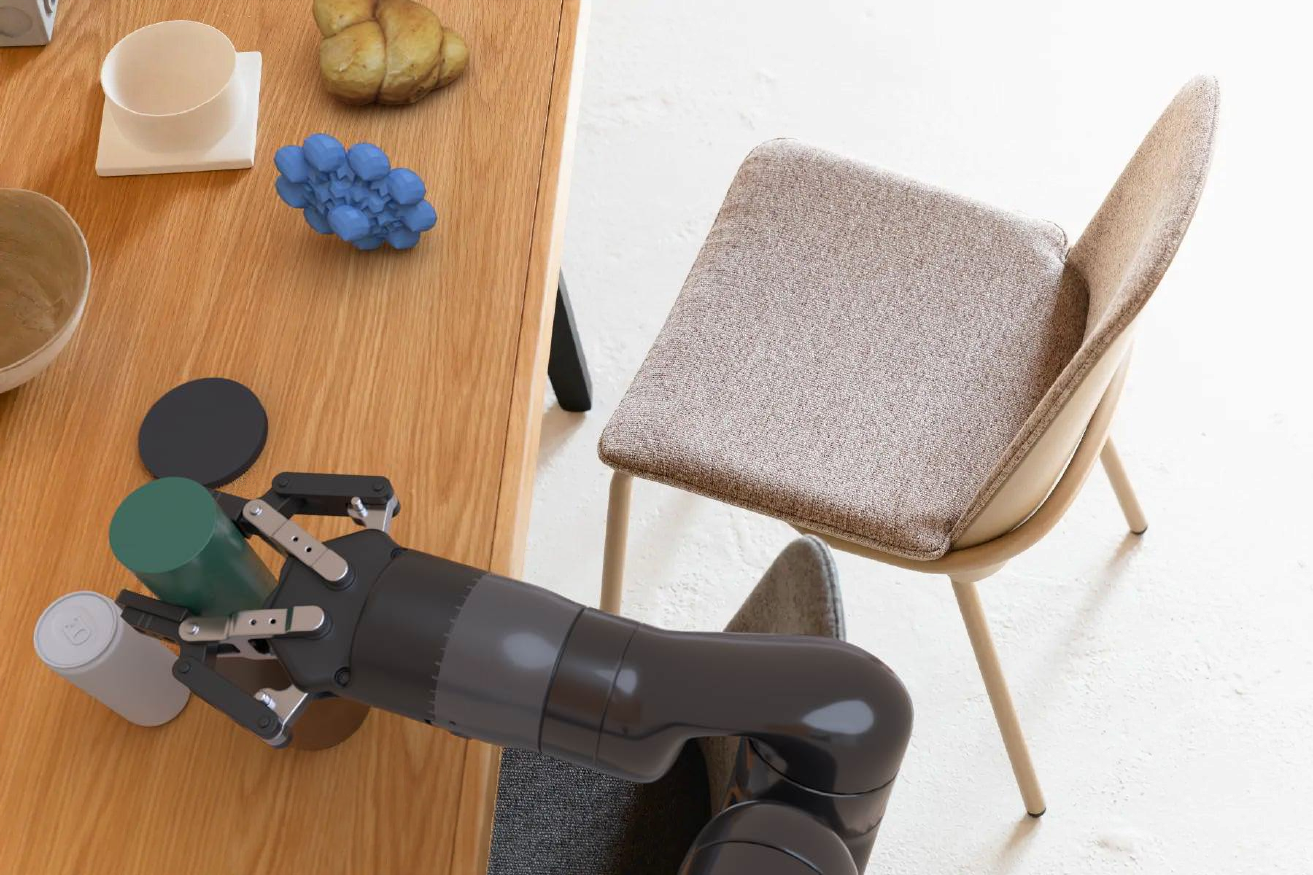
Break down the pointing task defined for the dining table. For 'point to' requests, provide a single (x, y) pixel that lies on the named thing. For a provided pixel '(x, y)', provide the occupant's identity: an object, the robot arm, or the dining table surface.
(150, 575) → the tea tin
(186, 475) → the mat
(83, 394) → the dining table surface
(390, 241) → the grapes
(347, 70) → the bread roll
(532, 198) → the dining table surface
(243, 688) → the stand
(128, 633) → the beverage can
